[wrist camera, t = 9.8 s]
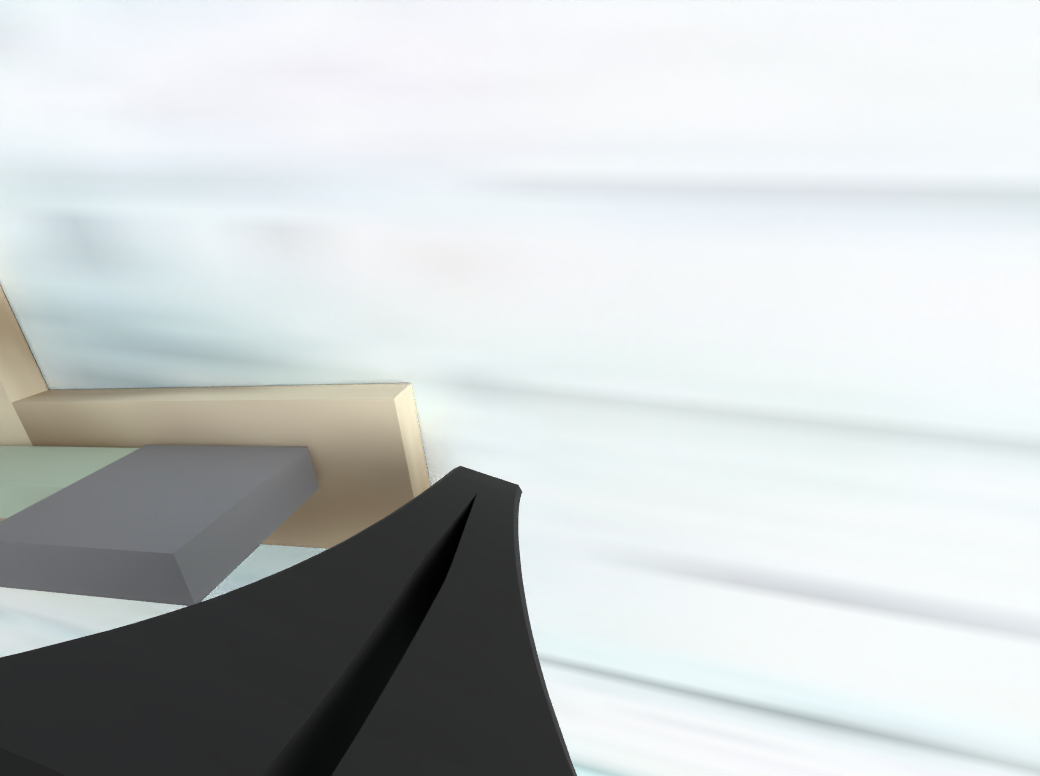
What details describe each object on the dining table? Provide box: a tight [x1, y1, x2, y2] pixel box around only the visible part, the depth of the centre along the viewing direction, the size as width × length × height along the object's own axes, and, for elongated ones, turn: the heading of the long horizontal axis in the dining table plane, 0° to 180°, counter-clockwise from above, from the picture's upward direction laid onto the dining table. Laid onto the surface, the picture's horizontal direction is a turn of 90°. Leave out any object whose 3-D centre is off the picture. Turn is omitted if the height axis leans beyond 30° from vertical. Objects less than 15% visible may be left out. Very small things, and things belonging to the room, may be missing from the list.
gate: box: [0, 445, 319, 606], centre depth 12 cm, size 1×14×4 cm, turn 95°
